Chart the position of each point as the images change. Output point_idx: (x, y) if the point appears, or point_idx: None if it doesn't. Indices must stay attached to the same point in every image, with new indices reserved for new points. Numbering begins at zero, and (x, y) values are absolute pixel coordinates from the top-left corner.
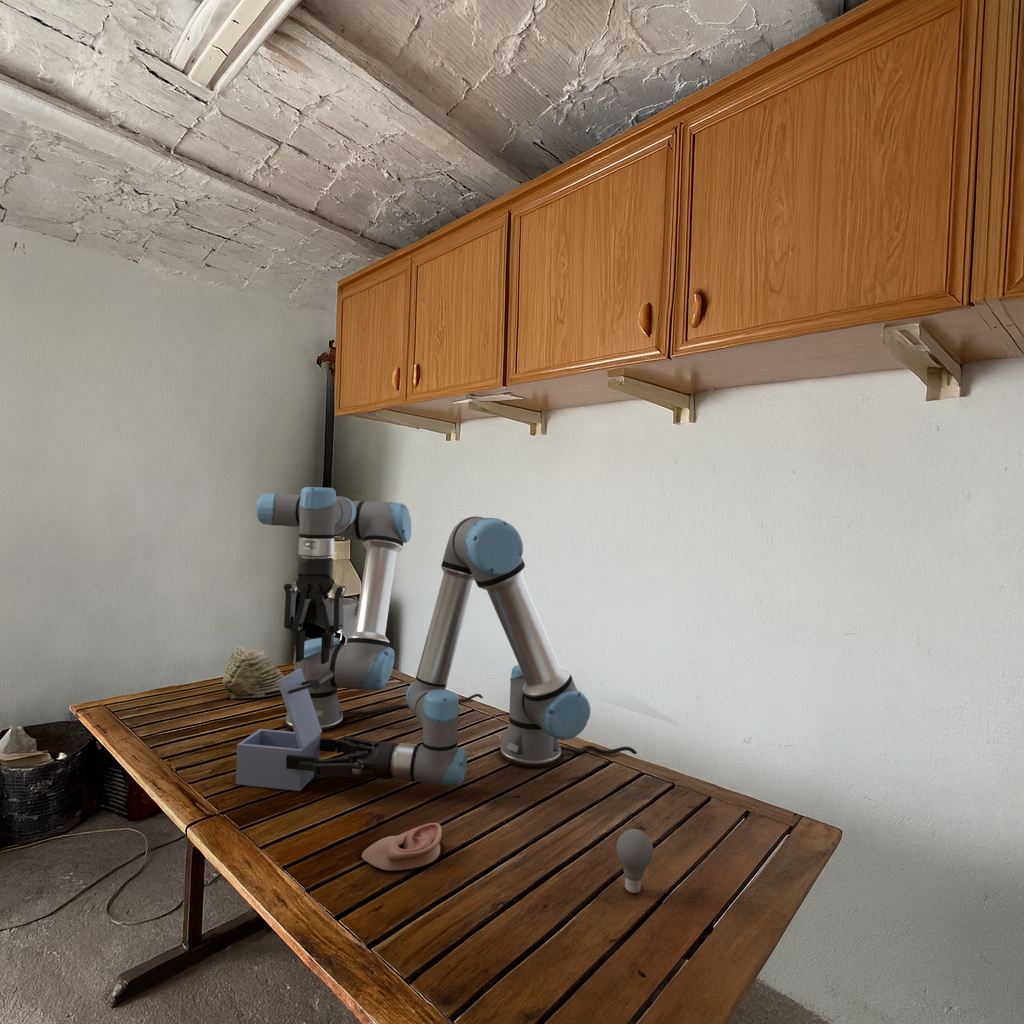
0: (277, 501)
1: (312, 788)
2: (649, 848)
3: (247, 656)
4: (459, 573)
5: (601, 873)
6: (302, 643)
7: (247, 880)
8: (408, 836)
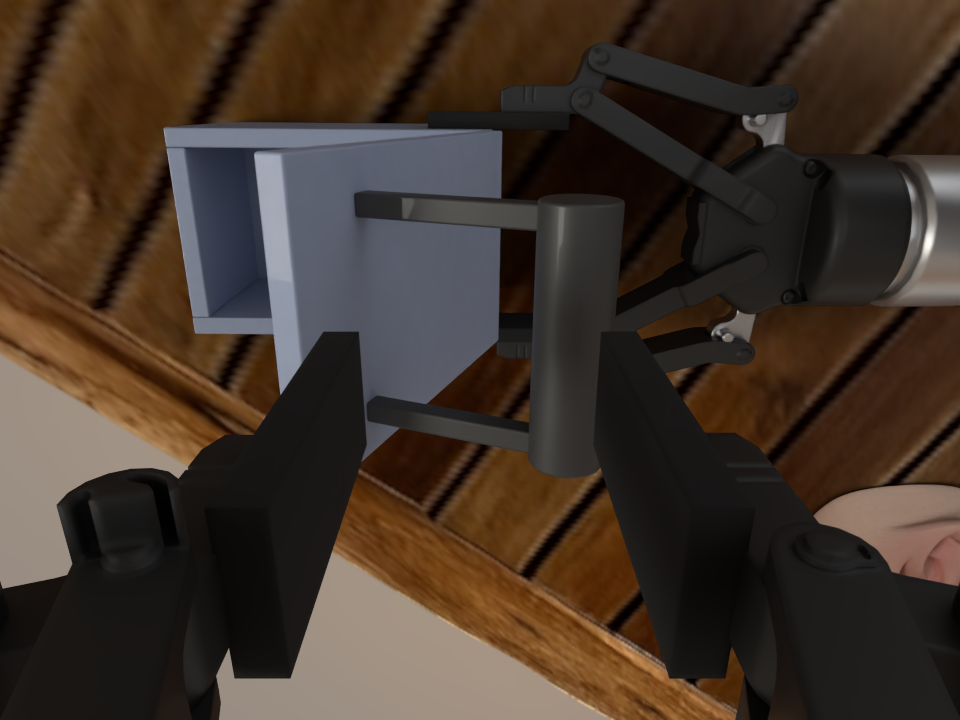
0: None
1: (521, 260)
2: None
3: None
4: None
5: None
6: (324, 465)
7: (555, 672)
8: (912, 562)
